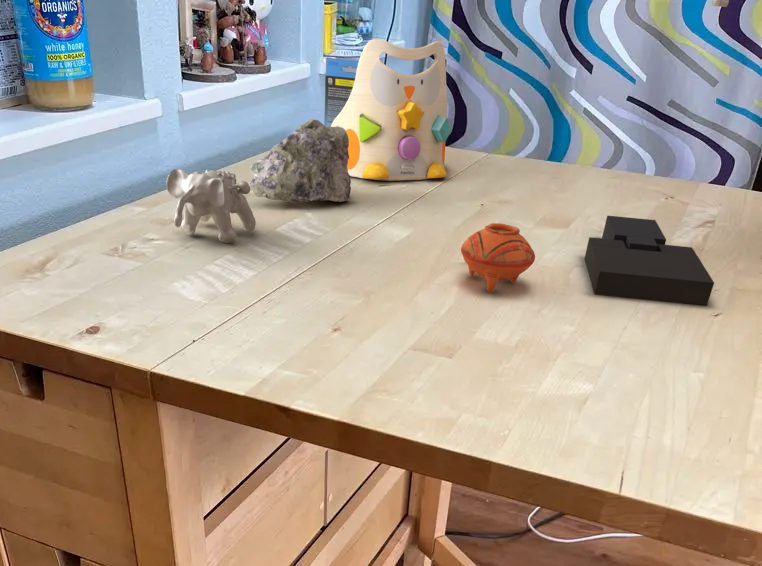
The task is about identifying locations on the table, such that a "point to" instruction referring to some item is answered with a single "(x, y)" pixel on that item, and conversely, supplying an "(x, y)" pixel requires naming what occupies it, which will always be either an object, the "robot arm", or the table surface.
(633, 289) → the black notched square block
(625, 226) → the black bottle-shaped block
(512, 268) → the pot
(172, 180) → the gray elephant figurine
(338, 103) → the tape cartridge
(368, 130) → the shape sorter
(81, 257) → the table surface
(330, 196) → the mineral rock
